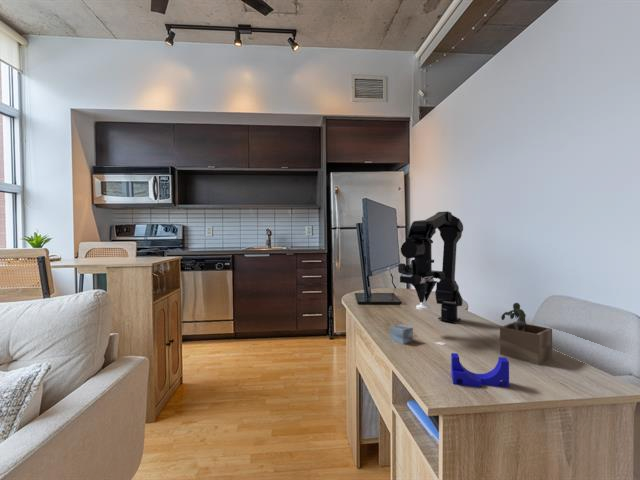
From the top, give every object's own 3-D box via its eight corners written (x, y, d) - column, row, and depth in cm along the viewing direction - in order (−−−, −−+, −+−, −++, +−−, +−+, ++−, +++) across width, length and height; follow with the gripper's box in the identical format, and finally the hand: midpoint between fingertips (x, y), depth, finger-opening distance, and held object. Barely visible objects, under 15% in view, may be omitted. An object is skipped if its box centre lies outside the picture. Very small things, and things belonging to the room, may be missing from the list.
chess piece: (413, 307, 117) (413, 279, 117) (427, 306, 118) (426, 278, 117) (419, 310, 112) (419, 280, 112) (433, 309, 113) (433, 280, 113)
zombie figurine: (516, 355, 100) (513, 305, 105) (533, 355, 93) (529, 302, 98) (500, 352, 99) (498, 302, 104) (516, 352, 93) (513, 299, 98)
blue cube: (400, 339, 112) (400, 324, 112) (412, 342, 108) (412, 327, 108) (390, 342, 109) (390, 326, 109) (402, 346, 105) (402, 330, 105)
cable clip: (453, 385, 77) (453, 359, 77) (451, 377, 81) (451, 352, 81) (510, 391, 74) (510, 364, 74) (505, 382, 78) (505, 357, 78)
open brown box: (515, 347, 102) (515, 321, 102) (552, 356, 94) (552, 328, 94) (500, 354, 96) (499, 327, 96) (538, 365, 88) (538, 335, 88)
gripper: (419, 254, 127) (419, 295, 127) (387, 257, 115) (387, 301, 115) (445, 255, 118) (446, 299, 118) (413, 258, 106) (414, 306, 107)
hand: (423, 301), depth 115 cm, fingers closed on chess piece, 2 cm apart
